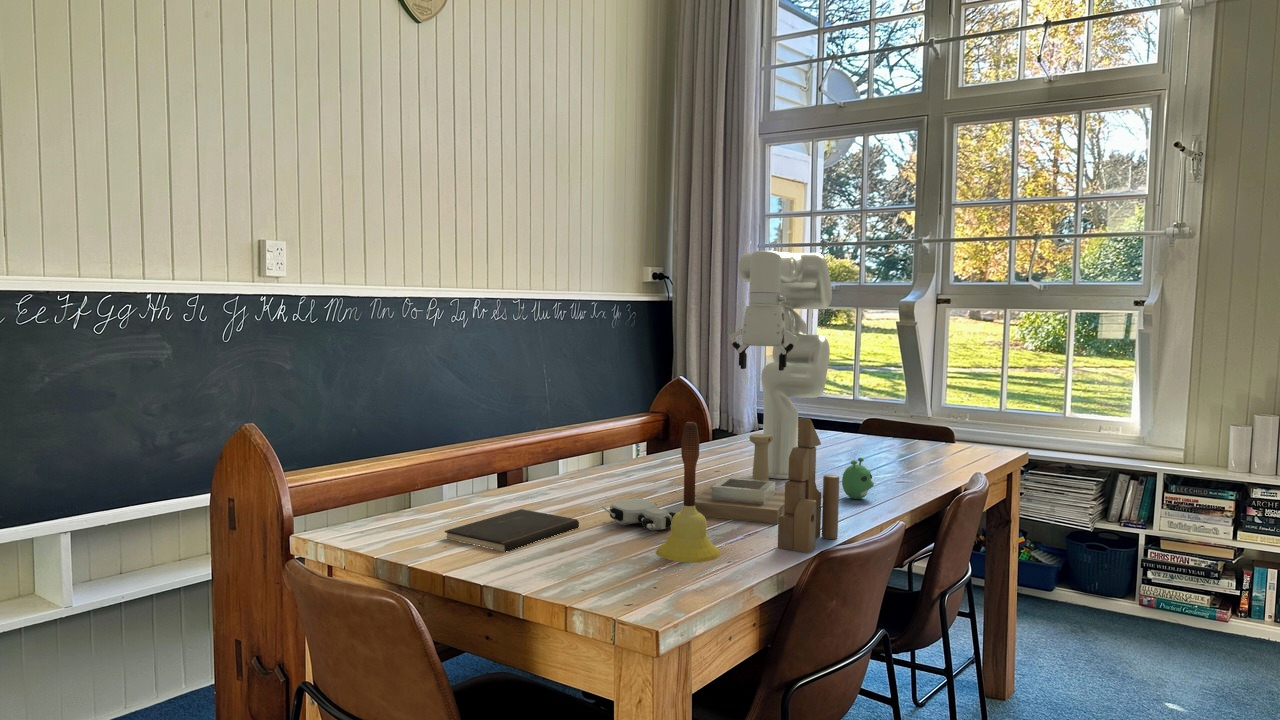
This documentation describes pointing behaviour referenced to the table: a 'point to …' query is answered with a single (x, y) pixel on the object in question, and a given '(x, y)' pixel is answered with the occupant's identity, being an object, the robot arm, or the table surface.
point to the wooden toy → (807, 497)
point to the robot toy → (640, 514)
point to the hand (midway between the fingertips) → (762, 369)
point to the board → (741, 508)
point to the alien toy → (857, 480)
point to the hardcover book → (512, 529)
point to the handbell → (689, 512)
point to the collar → (743, 490)
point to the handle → (761, 455)
